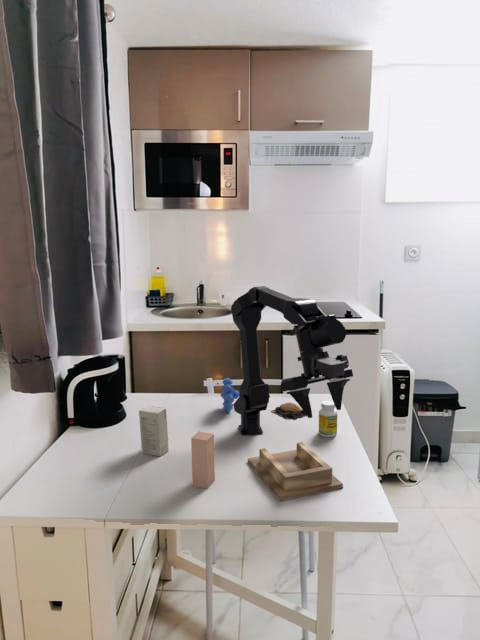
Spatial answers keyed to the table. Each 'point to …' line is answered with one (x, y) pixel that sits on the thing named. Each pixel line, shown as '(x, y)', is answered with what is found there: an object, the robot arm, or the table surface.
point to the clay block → (203, 459)
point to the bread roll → (289, 411)
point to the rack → (294, 472)
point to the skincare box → (153, 430)
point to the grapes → (228, 394)
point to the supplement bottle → (327, 419)
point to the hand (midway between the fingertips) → (325, 413)
